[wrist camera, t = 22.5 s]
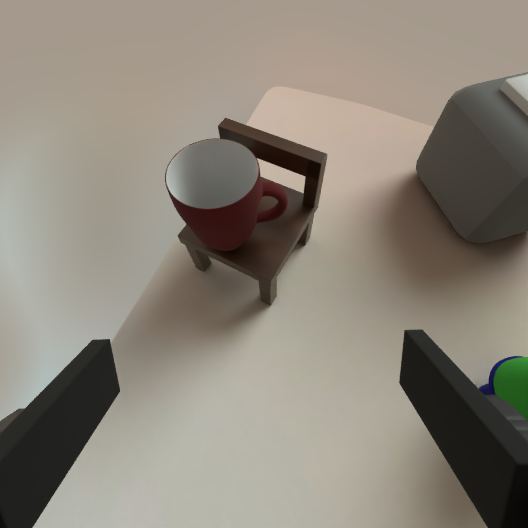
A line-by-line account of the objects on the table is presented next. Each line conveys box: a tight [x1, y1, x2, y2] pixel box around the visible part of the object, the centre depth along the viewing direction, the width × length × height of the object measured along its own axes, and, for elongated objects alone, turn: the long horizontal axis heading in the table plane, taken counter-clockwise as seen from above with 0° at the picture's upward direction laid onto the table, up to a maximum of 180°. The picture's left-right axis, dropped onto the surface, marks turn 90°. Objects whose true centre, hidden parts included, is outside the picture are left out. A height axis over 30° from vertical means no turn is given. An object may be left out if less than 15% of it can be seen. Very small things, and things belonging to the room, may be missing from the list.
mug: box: [165, 139, 288, 251], centre depth 32 cm, size 10×8×10 cm
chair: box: [178, 118, 327, 305], centre depth 37 cm, size 12×12×15 cm
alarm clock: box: [416, 73, 528, 244], centre depth 40 cm, size 16×11×16 cm
